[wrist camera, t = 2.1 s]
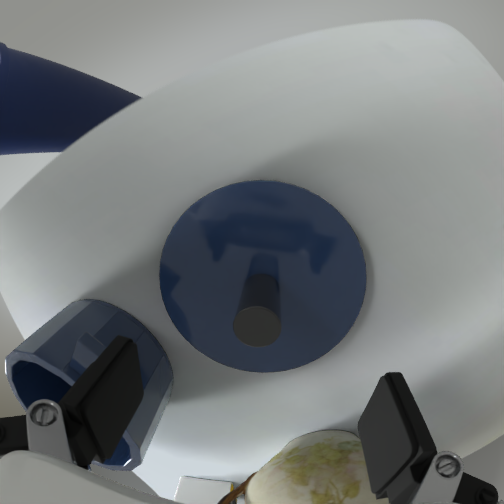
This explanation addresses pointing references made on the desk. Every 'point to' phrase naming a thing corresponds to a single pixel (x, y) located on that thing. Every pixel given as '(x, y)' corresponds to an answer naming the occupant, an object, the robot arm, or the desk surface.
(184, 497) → the medicine bottle
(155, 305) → the desk surface
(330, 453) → the sugar bowl
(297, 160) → the desk surface
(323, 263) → the lid
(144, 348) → the pot
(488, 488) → the robot arm
